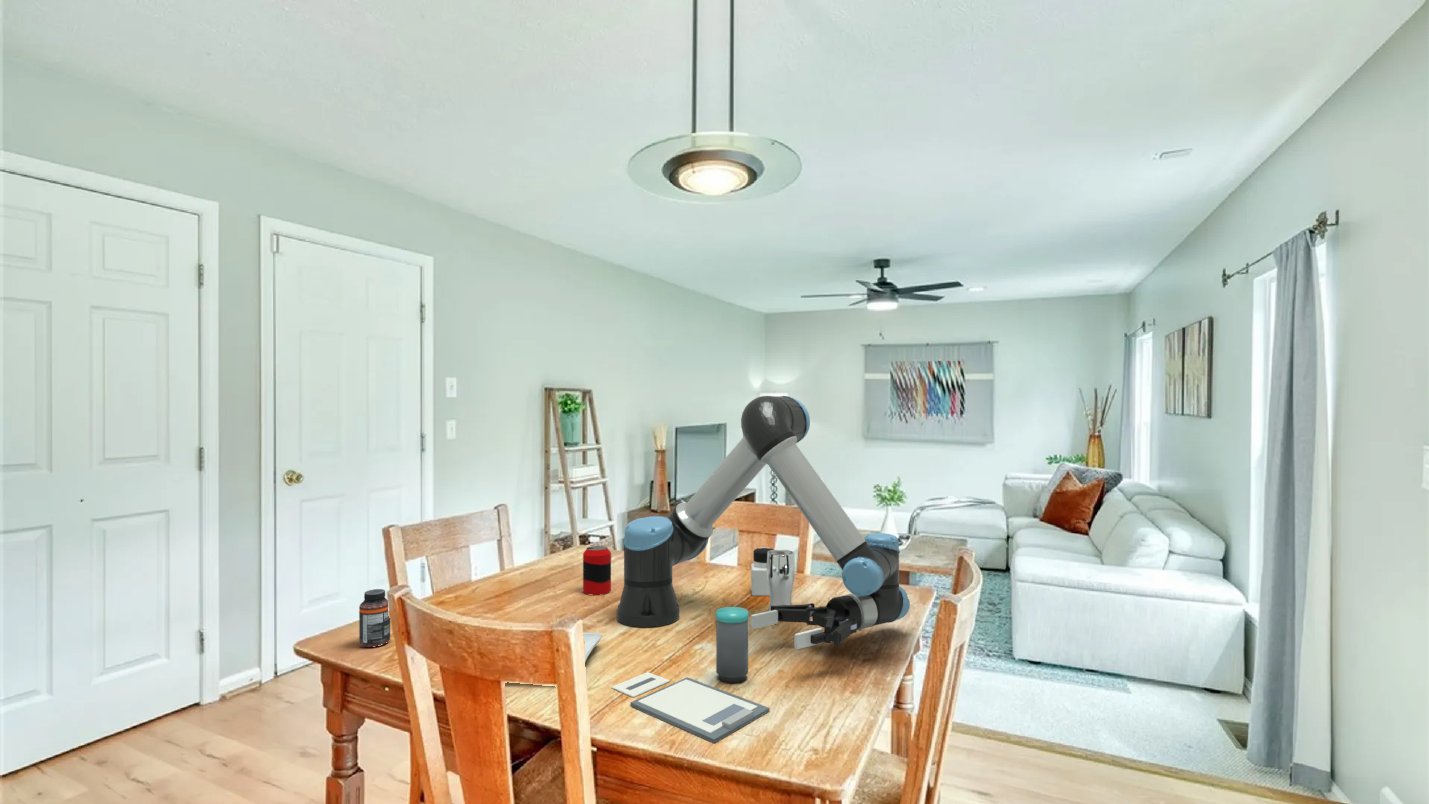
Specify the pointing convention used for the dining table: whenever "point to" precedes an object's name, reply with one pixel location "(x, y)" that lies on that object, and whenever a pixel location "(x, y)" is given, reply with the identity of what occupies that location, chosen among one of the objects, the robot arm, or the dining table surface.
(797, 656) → the dining table surface
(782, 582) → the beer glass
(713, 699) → the clipboard
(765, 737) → the dining table surface
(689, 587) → the dining table surface
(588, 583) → the soda can
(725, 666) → the grey teal cylinder
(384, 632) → the supplement bottle
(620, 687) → the word card
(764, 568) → the medicine bottle
